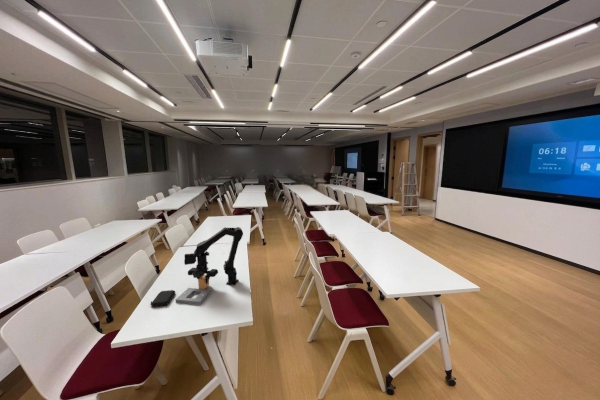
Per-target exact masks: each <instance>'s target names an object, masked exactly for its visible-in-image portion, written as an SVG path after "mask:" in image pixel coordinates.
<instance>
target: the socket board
mask: <svg viewBox="0 0 600 400" xmlns="http://www.w3.org/2000/svg"><path fill="white" fill-rule="evenodd" d="M194 294H195V295H197V296H195V298H194V297H193V298H192V297H191V296H192V295H194ZM211 294H212V289H207V288H205V289H199V288H194V287H187V289H185V290H184V291H183V292H181V294H180V295H179V296H178V297H177V298H175V303H176V304H188V305H197V306H201V304H203V302H205V301H206V300H207V298H208V297H209V296H210V295H211Z"/></svg>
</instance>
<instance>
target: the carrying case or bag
mask: <svg viewBox="0 0 600 400" xmlns="http://www.w3.org/2000/svg"><path fill="white" fill-rule="evenodd" d="M175 294H176V291H175V290H173V289H170V290H161V291H160V292H159V293H158V294H157V295H156V297H154V299H153V301H150V306H151V307H153V308H159V307H166V306H168V305H169V304H170V302H171V301H172V299H173V298H174V296H175Z"/></svg>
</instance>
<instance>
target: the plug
mask: <svg viewBox="0 0 600 400" xmlns="http://www.w3.org/2000/svg"><path fill="white" fill-rule="evenodd" d="M205 276H206V274H204V276H201V277H200V278H199V279H197V281H198V289H207V288H208V287H209V286H210V280H209V281H208V284H206V278H205Z"/></svg>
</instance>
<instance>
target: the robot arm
mask: <svg viewBox="0 0 600 400" xmlns="http://www.w3.org/2000/svg"><path fill="white" fill-rule="evenodd" d="M225 236H230V237H232V241H231V242H232V243H231V247H230V251H229V254H228V258H227V261H226V260H225V261H224V264H223V271H224V273H225V275H227V281H226V284H225V285H232V286H235V285H237V283H238V282H239V279H237V275H238V273H237V269H236V267H235V264H234V263H235V259H236V254H237V251H238V246H239V244H240V241H241V240H242V239H243V236H244V231H243V230H242V228H241V227H240V226H237V227H223V228H222V229H221V230H219V231H218V232H216V233H215V234H214V235H212V236H211V237H209V238H207V239H205V240H203V241H200V242H199V243H197V244H196V248H195V250H194V251H193V253H184V260H183V261H184V262H183V263H184V266H186V265H194V264H195V263H196V265H195V266H196V267H191V268H190V269H189V270H188V271H187V275H188V276H193V278H194V279H197V280H198V279H199V278H200V277H201V276H204V275H206V276H205V278H206V284H208V281H209V282H210V278H215V276H217V275H218V273H219V270H218V269H217V268H211V269H210V270H209V267H208V264H209V262H208V259H207V258H208V256H210V251H209V252H208V249H209V248H210V247H211V246H212V245H213V244H215V243H216V242H218V241H220V239H222V238H223V237H225Z"/></svg>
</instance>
